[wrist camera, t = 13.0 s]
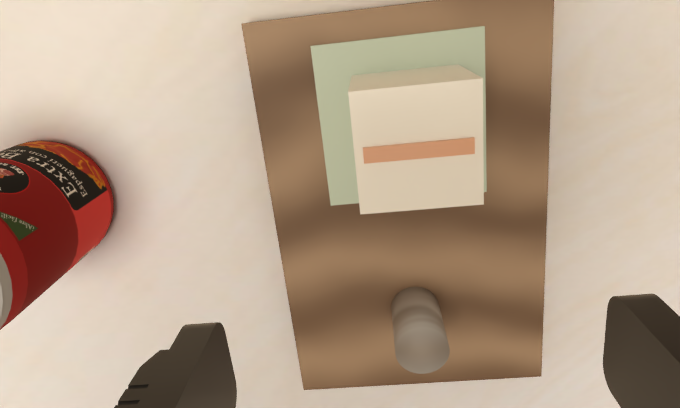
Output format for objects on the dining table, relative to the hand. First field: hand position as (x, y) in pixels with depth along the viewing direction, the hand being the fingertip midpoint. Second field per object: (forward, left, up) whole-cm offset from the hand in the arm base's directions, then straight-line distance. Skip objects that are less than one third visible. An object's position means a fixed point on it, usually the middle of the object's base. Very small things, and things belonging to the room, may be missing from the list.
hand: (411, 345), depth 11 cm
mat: (+1, -1, -19) cm, 19 cm away
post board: (-5, -1, -20) cm, 21 cm away
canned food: (-2, +21, -21) cm, 29 cm away
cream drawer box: (+1, -1, -19) cm, 19 cm away
